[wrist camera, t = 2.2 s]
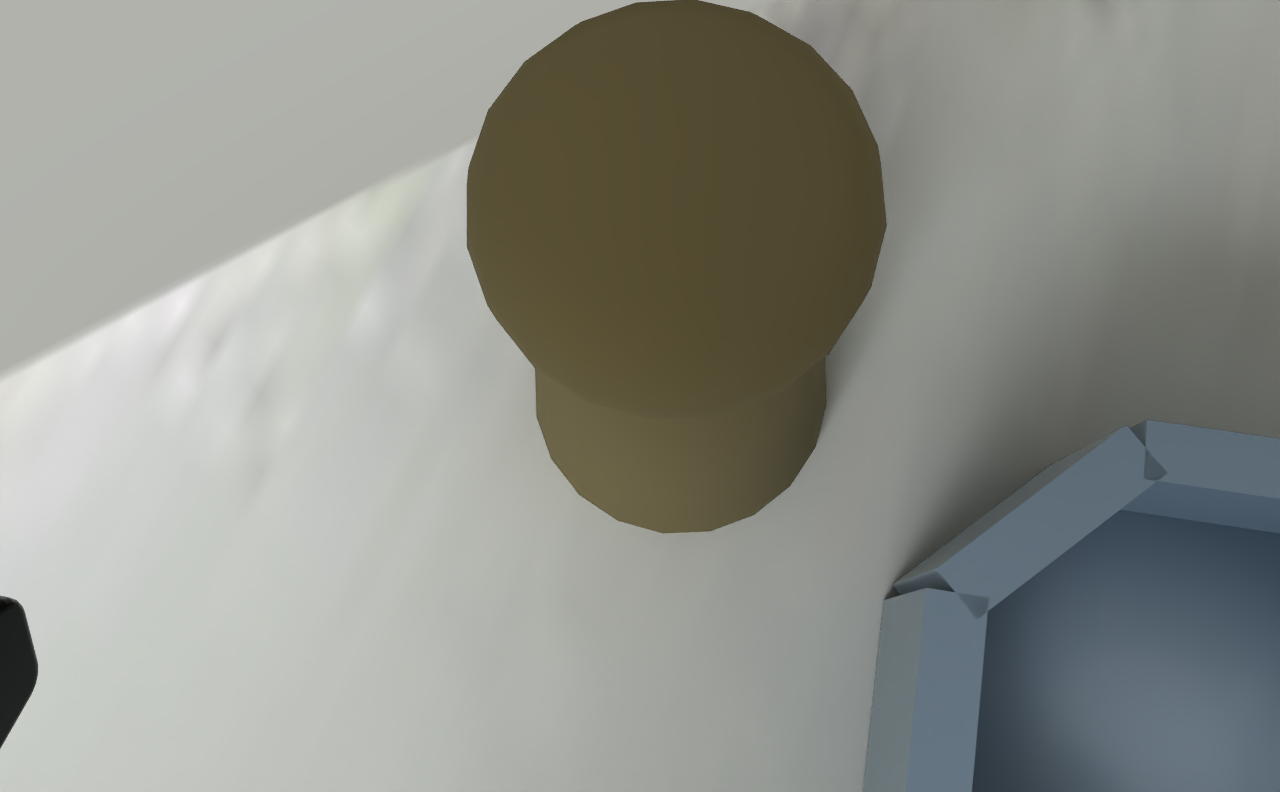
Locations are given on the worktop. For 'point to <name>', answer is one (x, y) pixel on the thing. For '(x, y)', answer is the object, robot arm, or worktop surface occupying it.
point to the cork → (676, 252)
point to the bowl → (1095, 629)
